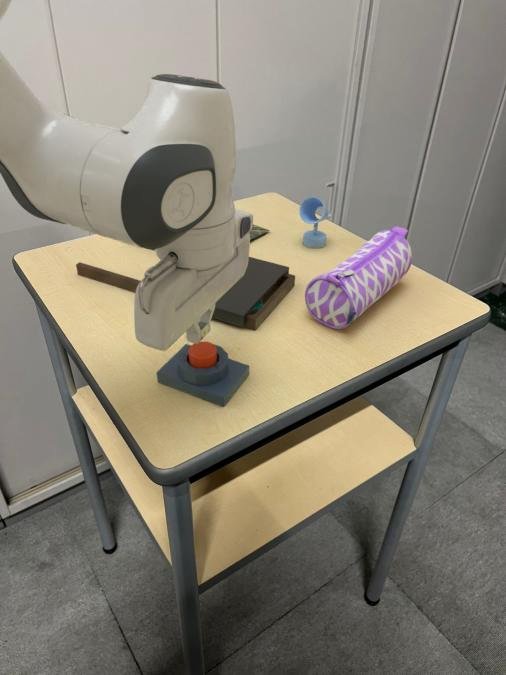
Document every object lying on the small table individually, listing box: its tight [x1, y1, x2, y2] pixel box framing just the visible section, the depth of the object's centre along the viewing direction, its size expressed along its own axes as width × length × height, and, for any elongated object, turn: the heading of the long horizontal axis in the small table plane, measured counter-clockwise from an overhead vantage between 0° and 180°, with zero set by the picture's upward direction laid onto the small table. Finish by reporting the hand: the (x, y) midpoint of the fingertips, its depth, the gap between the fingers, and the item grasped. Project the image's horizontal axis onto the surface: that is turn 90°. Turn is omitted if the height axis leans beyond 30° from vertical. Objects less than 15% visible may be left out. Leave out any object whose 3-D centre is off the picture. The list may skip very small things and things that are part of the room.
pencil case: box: [304, 225, 413, 330], centre depth 82 cm, size 22×9×10 cm, turn 143°
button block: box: [156, 343, 250, 408], centre depth 68 cm, size 10×7×4 cm
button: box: [188, 341, 217, 369], centre depth 66 cm, size 4×4×2 cm
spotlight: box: [298, 196, 330, 249], centre depth 98 cm, size 5×10×7 cm
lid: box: [212, 256, 290, 328], centre depth 85 cm, size 17×17×5 cm
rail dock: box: [75, 249, 296, 331], centre depth 89 cm, size 35×15×2 cm, turn 63°
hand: (198, 336), depth 65 cm, fingers closed
